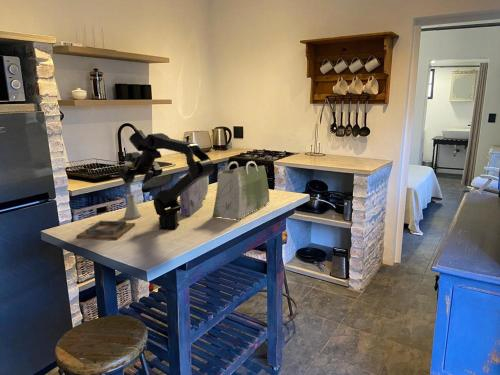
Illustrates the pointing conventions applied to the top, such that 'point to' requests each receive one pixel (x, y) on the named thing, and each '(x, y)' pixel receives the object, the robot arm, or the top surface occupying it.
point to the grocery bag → (241, 191)
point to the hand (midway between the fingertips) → (134, 185)
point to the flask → (131, 208)
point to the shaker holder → (106, 230)
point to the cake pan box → (191, 198)
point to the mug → (204, 186)
